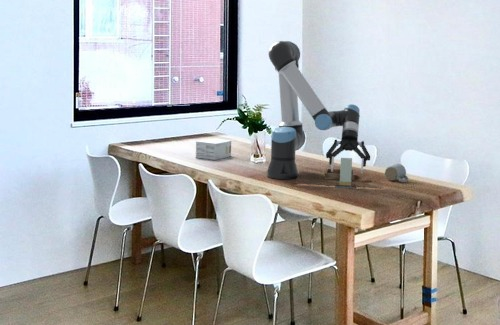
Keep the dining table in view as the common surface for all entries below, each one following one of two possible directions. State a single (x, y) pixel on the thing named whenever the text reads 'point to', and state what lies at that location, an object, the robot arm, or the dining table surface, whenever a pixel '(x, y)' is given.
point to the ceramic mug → (396, 173)
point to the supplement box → (213, 149)
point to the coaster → (344, 186)
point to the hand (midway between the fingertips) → (346, 170)
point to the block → (345, 171)
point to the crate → (336, 174)
